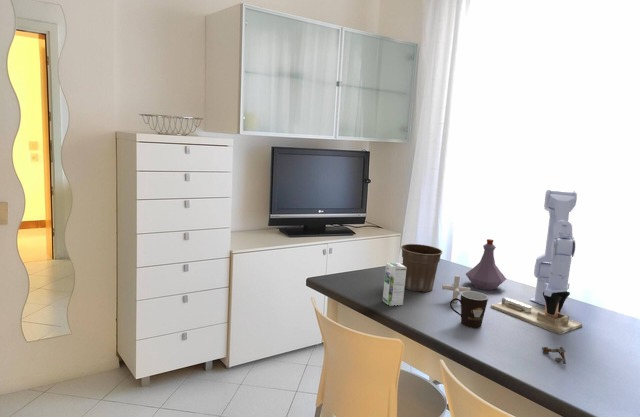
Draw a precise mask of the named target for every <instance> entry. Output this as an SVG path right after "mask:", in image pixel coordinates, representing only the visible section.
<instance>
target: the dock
mask: <svg viewBox="0 0 640 417" xmlns="http://www.w3.org/2000/svg"><path fill="white" fill-rule="evenodd" d="M511 299H512V300H515V301H517V302H520V303H523V304H526V305H528V306H531V307H532V308H531V312H530V313H526V312H524V311H522V309H520V308H517V307H515V306H512V305H510V304H506V305H505V304H502V301H500V302H496V303H492V304H490V308H491V309H494V310H497V311H499V312H502V313H503V314H504V313H505V314H507V315H509V316H512V317H514V318H517V319H519V320H522V321H524V322H527V323H529V324H531V325H534V326H537V327H540V328H542V329H543V330H544V329H545V330H547V331H550V332H552V333H555V334H557V335H562V334H565V333H568V332H571V331H574V330H577V329H579V328H581V327H583V323H581V322H579V321H576V320H572V319H570V315H567V314H564V313H561V312H558V318H557V319H556V318H553V317H550V316H548V315H545V309H543V308H540V307H538V306H535V305H532V304H529V303H526V302H523V301H521V300H518V299H515V298H511Z"/></svg>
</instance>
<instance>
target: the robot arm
mask: <svg viewBox="0 0 640 417" xmlns="http://www.w3.org/2000/svg"><path fill="white" fill-rule="evenodd" d="M544 195H545V196H544V210H545V211H547V212H548V213H549V214H548V215H549V219H548V227H547V235H546V244H545V249H544V250H545V251H544V253H543V254H541V255H539V256H537V257H536V258H535V264H534V273H533V276H534V277H535V278H537V279H536V287H535V294H534V297H532V298H529V301H531V302H534V303H536V304H540V305H541V306H542V305H543V306H545V303H546V308H547V313H548V314H551V315H554V314H555V312H556V308H557V305H558V303H559V307H558V313H561V311H562V308H563V306H564V304H565V301H566V300H567V299H568V297H569V296H570V294H571V292H569V291H568V290H569V289H570V283H569V277H570V270H571V264H572V258H573V257H574V255H575V252H576V240H575V238H574V237H573V224H572V223H570V221H569V218H570V217H569V216H570V213H571V212H572V211H573V210H574V208H575V207H576V204H577V199H578V198H577V197H578V194H577V192H576V191H575V190H563V189H562V190H561V189H552V188H547V189H546V192H545V194H544Z"/></svg>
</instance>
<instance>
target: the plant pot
mask: <svg viewBox="0 0 640 417" xmlns="http://www.w3.org/2000/svg"><path fill="white" fill-rule="evenodd" d="M400 248H401V258H402V265H403V266H405V267H406V278H405V288H404V289H406V290H409V291H412V292H417V293H418V292H422V293H427V292H431V291H432V290H434V289H433V288H434V284H435V279H436V274H437V270H438V265H439V263H440V260H441V255H442V254H443V250H442V249H440V248H437V247H435V246H431V245H426V244H420V243H419V244H418V243H407V244H401V246H400Z"/></svg>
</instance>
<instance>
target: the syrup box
mask: <svg viewBox="0 0 640 417" xmlns="http://www.w3.org/2000/svg"><path fill="white" fill-rule="evenodd" d="M405 278H406V267H405V266H403V263H402V264H401V263H400V262H393V261H392V262H386V263H385V270H384V281H383V292H382V302H384V303H385V304H387V305H389V306H388V307H394V305H395V306H397V305H398V306H403V305H404V295H405V289H406V288H405Z"/></svg>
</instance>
